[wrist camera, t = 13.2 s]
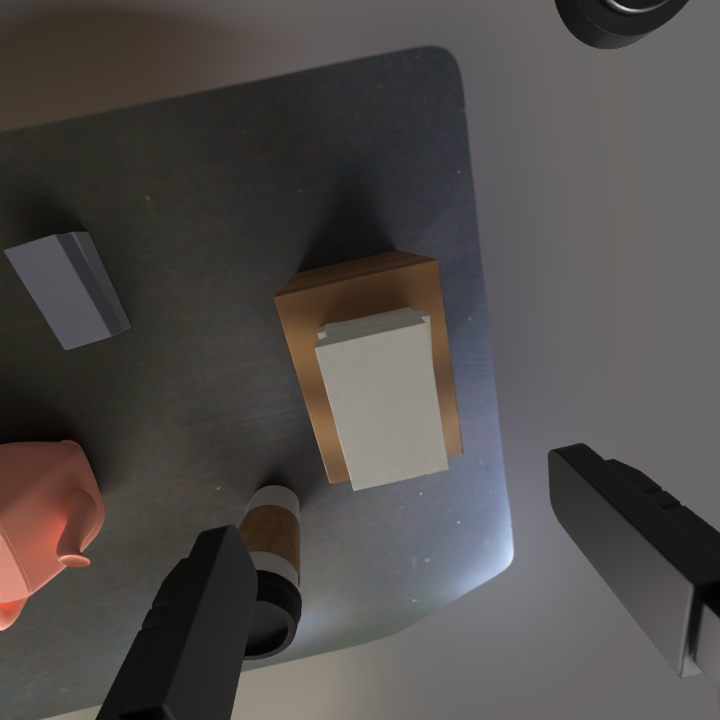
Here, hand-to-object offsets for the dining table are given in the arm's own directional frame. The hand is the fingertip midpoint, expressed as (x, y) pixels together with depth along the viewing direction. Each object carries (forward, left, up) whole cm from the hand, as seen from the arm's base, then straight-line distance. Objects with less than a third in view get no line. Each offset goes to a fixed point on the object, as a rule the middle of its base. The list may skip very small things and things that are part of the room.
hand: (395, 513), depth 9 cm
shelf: (+1, +3, -28) cm, 28 cm away
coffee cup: (+24, +10, -29) cm, 39 cm away
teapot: (+36, -11, -29) cm, 47 cm away
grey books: (+15, -19, -28) cm, 37 cm away
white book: (+1, +3, -12) cm, 12 cm away
